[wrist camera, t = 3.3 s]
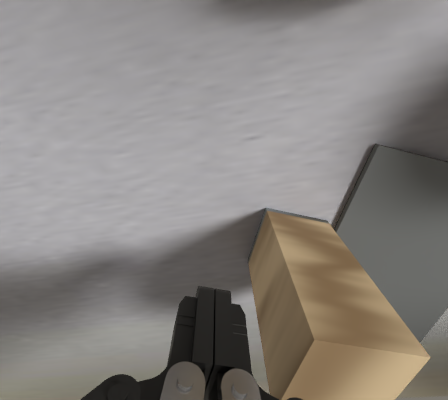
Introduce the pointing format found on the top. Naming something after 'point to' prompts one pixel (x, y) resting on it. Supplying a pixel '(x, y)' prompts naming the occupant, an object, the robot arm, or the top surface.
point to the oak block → (325, 317)
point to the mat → (402, 232)
